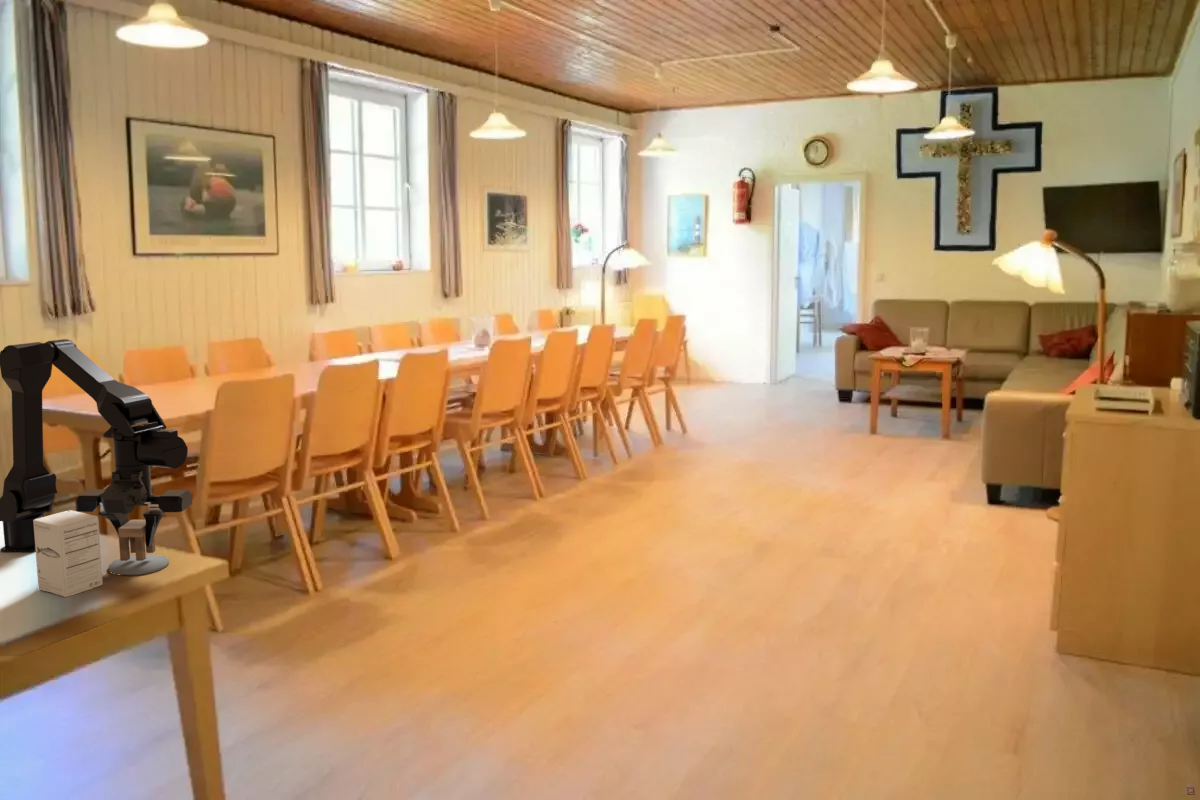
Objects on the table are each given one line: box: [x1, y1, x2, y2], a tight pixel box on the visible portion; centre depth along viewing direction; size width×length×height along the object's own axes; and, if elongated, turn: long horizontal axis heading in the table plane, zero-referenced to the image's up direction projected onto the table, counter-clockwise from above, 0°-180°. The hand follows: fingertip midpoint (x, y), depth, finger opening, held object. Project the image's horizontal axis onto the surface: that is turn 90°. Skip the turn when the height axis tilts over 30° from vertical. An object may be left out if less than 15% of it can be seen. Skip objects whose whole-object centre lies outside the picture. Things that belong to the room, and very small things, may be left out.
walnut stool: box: [117, 519, 156, 561], centre depth 183 cm, size 6×4×6 cm
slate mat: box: [108, 553, 170, 576], centre depth 183 cm, size 10×10×1 cm
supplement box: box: [33, 509, 103, 598], centre depth 171 cm, size 7×7×13 cm
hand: (137, 546), depth 183 cm, fingers closed on walnut stool, 4 cm apart
